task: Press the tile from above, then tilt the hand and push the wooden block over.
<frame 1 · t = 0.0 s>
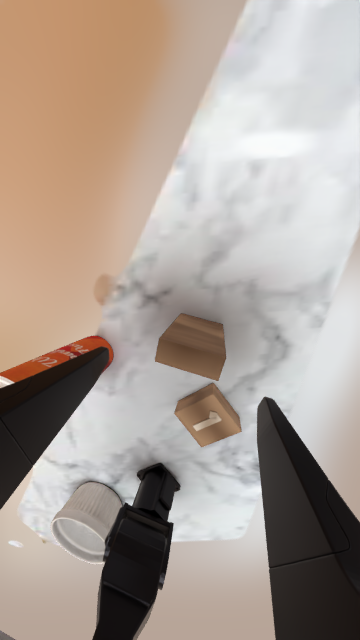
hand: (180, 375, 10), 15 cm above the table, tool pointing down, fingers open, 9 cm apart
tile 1: (207, 407, 29), on the table
ramekin: (101, 497, 41), on the table
wooden block 2: (199, 326, 25), on the table
coffee cup: (97, 351, 30), on the table
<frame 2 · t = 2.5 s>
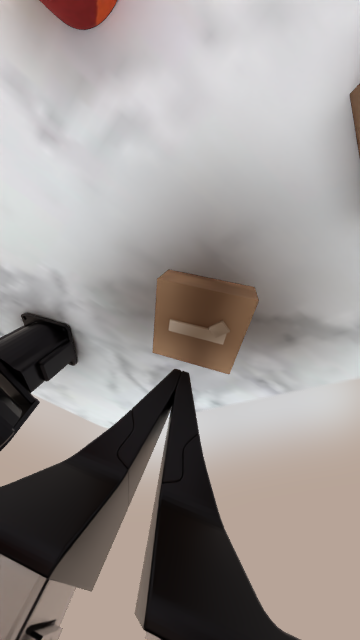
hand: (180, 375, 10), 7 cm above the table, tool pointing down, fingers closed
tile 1: (202, 313, 16), on the table
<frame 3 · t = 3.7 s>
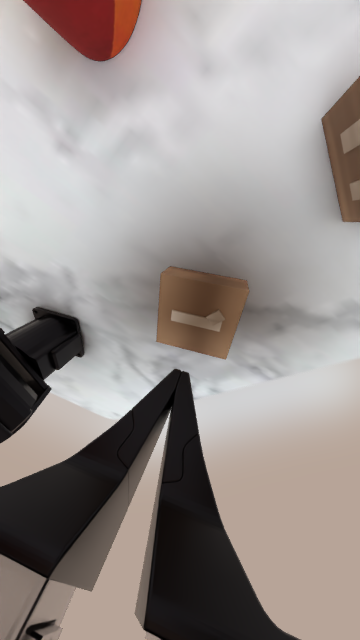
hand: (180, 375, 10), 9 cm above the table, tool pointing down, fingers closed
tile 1: (200, 306, 18), on the table
wooden block 2: (357, 160, 11), on the table
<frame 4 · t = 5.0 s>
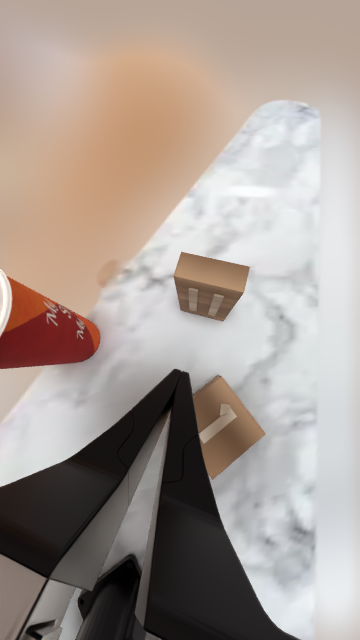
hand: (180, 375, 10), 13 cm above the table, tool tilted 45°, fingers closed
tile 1: (213, 416, 22), on the table
wooden block 2: (203, 307, 25), on the table
coffee cup: (80, 340, 25), on the table
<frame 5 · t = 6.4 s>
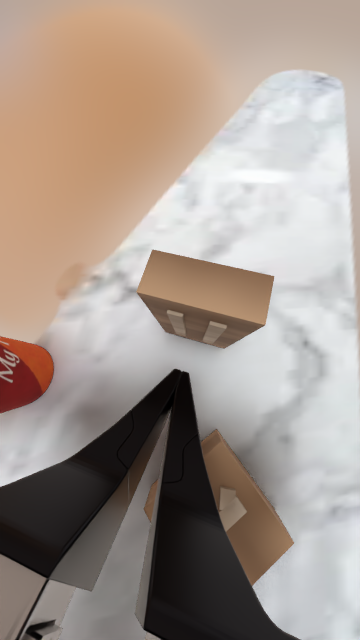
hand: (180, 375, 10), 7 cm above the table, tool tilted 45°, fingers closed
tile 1: (211, 494, 15), on the table
wooden block 2: (197, 328, 18), on the table
coffee cup: (26, 373, 18), on the table
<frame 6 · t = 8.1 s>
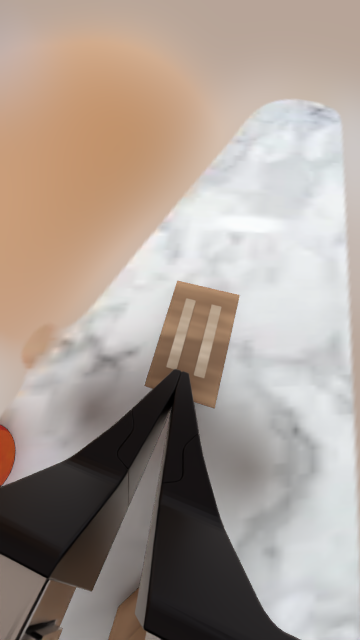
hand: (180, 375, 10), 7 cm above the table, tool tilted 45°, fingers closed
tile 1: (185, 618, 13), on the table
wooden block 2: (179, 394, 16), point 1 cm above the table, tilted 90°
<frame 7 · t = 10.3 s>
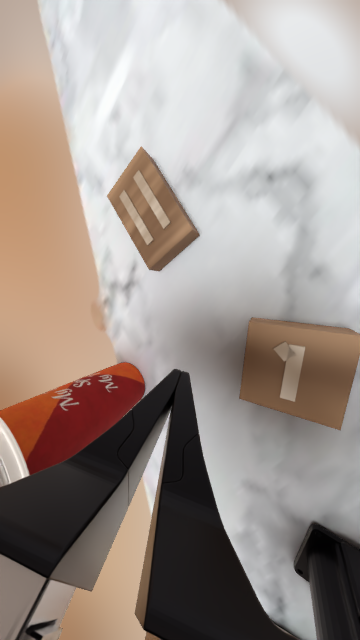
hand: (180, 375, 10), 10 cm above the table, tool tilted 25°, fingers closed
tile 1: (288, 359, 16), on the table
wooden block 2: (174, 253, 19), point 1 cm above the table, tilted 90°
coffee cup: (129, 381, 26), on the table
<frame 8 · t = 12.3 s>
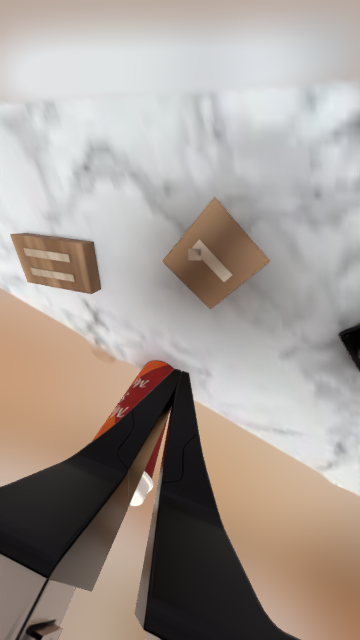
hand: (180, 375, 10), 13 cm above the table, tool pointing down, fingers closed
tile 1: (214, 255, 19), on the table
wooden block 2: (93, 268, 22), point 1 cm above the table, tilted 90°
coffee cup: (160, 373, 30), on the table
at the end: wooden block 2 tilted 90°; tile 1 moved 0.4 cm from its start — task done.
